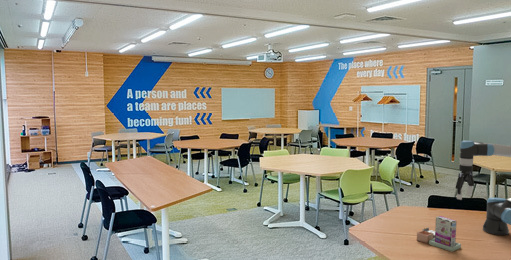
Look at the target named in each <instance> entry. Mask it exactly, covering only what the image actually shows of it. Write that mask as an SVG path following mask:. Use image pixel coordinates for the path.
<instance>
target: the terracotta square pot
mask: <svg viewBox="0 0 511 260" xmlns="http://www.w3.org/2000/svg"><path fill="white" fill-rule="evenodd" d="M431 239H433V233H430V232H427V231H424V230H423V229H422V230H420V231H418V232H417V233H416V241H417V242H421V243H424V244H429V240H431Z"/></svg>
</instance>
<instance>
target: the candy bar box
mask: <svg viewBox="0 0 511 260" xmlns="http://www.w3.org/2000/svg"><path fill="white" fill-rule="evenodd" d="M457 222H458V221H457V220H455V219H452V218H448V217H445V216H442V215H439V216H435V229H434V231H435V242H437V243H440V244H443V245H446V246H449V247H454V246H455V243H456V239H457Z"/></svg>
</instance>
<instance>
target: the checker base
mask: <svg viewBox="0 0 511 260" xmlns="http://www.w3.org/2000/svg"><path fill="white" fill-rule="evenodd" d="M422 230H424V231H429V230H430V227H424V228H423V229H422ZM434 238H435V236H433V239H434Z"/></svg>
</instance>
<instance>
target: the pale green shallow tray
mask: <svg viewBox="0 0 511 260" xmlns="http://www.w3.org/2000/svg"><path fill="white" fill-rule="evenodd" d="M428 245H429V246H433V247H436V248H440V249H443V250H445V251H449V252H450V253H451V252H452V253H453V252H455V251H457V250H459V249H461V248H462V243H459V242H456V243H455V246H454V247H449V246H446V245H443V244H440V243H437V242H435V238H434V239H431V240H429V243H428Z"/></svg>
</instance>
